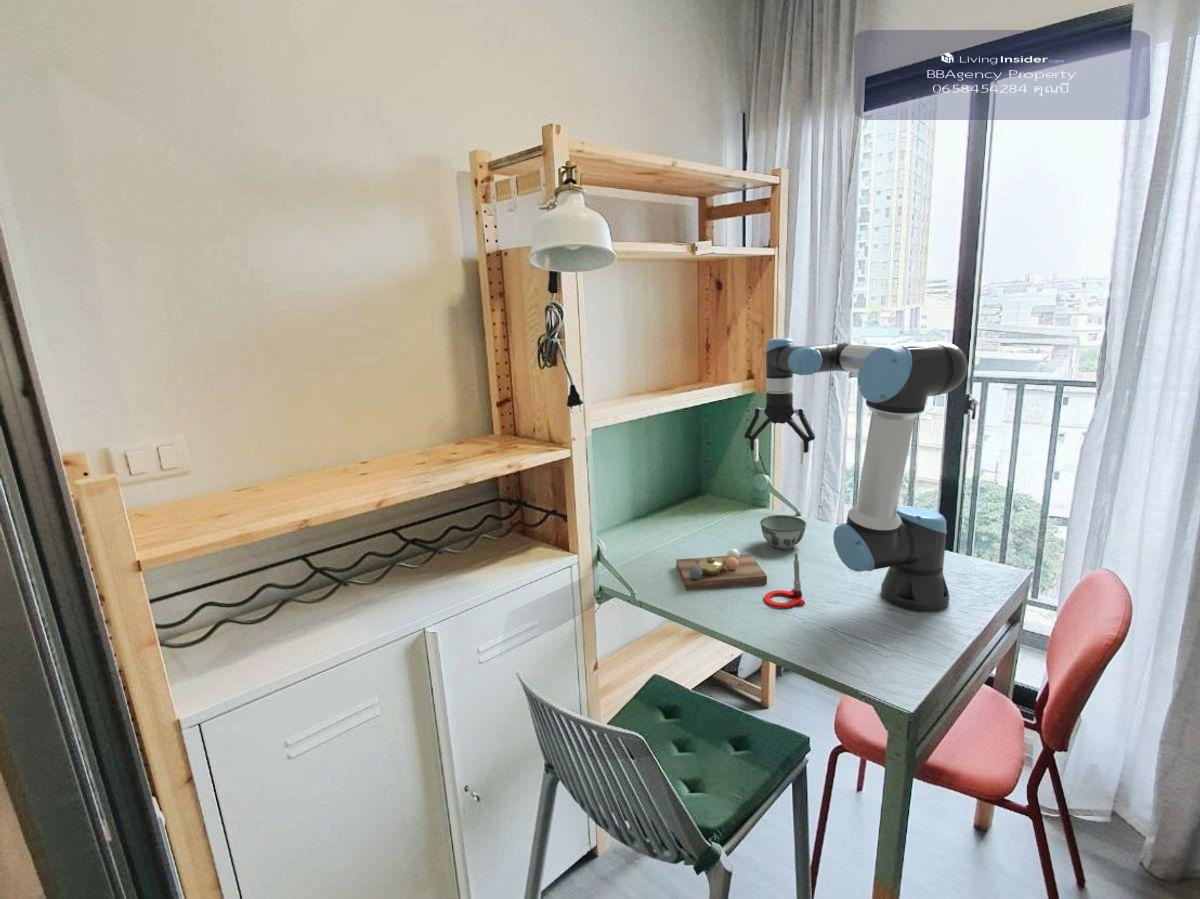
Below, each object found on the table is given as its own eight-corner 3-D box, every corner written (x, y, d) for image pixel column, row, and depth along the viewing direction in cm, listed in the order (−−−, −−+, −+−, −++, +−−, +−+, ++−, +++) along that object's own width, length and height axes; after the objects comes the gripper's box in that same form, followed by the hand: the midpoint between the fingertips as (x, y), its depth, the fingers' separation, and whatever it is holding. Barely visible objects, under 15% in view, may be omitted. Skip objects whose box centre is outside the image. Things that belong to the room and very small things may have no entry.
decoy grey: (703, 581, 161) (703, 568, 161) (690, 582, 161) (690, 569, 160) (701, 575, 165) (700, 563, 164) (688, 576, 165) (688, 564, 164)
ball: (740, 571, 166) (740, 559, 165) (727, 572, 166) (727, 560, 165) (736, 566, 169) (736, 554, 168) (724, 567, 169) (724, 555, 168)
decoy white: (741, 562, 172) (741, 550, 171) (729, 563, 171) (728, 551, 171) (737, 557, 175) (737, 546, 174) (725, 558, 175) (725, 547, 174)
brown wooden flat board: (766, 584, 163) (766, 575, 162) (686, 590, 162) (686, 581, 161) (750, 561, 177) (750, 554, 177) (676, 567, 177) (676, 559, 176)
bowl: (795, 536, 194) (796, 513, 192) (813, 553, 181) (813, 528, 179) (754, 540, 193) (754, 516, 192) (768, 556, 180) (768, 531, 178)
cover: (725, 574, 164) (725, 562, 163) (701, 575, 164) (701, 563, 163) (719, 564, 170) (719, 553, 169) (696, 566, 170) (696, 554, 169)
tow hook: (769, 611, 150) (806, 607, 150) (767, 563, 147) (805, 559, 147) (760, 596, 158) (795, 592, 158) (757, 550, 155) (793, 546, 155)
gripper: (825, 390, 174) (824, 461, 179) (740, 390, 186) (740, 457, 190) (822, 393, 168) (821, 467, 173) (734, 393, 179) (734, 462, 184)
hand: (779, 462), depth 181 cm, fingers open, 13 cm apart
